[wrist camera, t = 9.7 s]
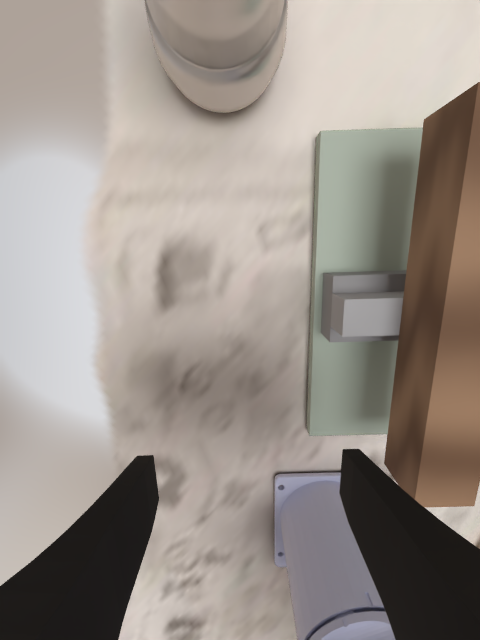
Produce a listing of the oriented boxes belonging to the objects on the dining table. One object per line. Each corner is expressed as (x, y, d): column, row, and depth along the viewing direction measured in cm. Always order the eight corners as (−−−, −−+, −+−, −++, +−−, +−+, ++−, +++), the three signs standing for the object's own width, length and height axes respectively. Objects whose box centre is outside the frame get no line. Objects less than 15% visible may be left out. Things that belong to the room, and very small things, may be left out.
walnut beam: (434, 462, 17) (474, 506, 14) (384, 463, 17) (413, 507, 14) (491, 117, 13) (567, 79, 10) (423, 119, 13) (478, 82, 10)
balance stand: (435, 424, 22) (490, 474, 17) (306, 427, 22) (324, 478, 17) (483, 132, 17) (578, 87, 12) (316, 137, 17) (346, 95, 12)
